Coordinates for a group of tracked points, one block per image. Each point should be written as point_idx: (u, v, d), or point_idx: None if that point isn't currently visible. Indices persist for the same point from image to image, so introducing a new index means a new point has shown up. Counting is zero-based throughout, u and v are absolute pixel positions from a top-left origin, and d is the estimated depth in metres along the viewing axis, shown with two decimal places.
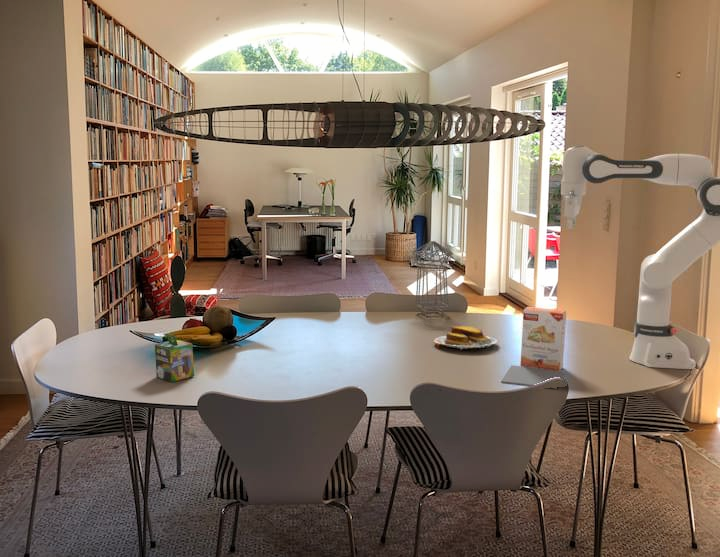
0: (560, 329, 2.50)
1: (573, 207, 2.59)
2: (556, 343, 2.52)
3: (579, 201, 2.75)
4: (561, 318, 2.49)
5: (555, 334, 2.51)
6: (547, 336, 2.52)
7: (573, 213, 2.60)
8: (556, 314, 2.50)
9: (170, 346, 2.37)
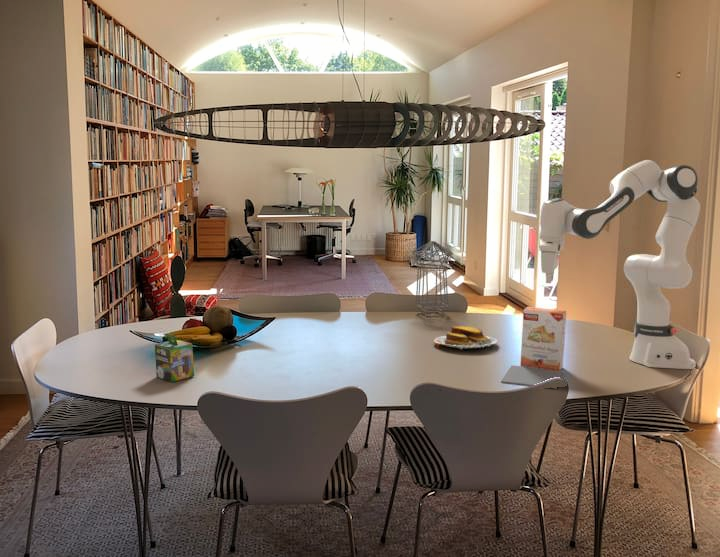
0: (560, 329, 2.50)
1: None
2: (556, 343, 2.52)
3: None
4: (561, 318, 2.49)
5: (555, 334, 2.51)
6: (547, 336, 2.52)
7: None
8: (556, 314, 2.50)
9: (170, 346, 2.37)
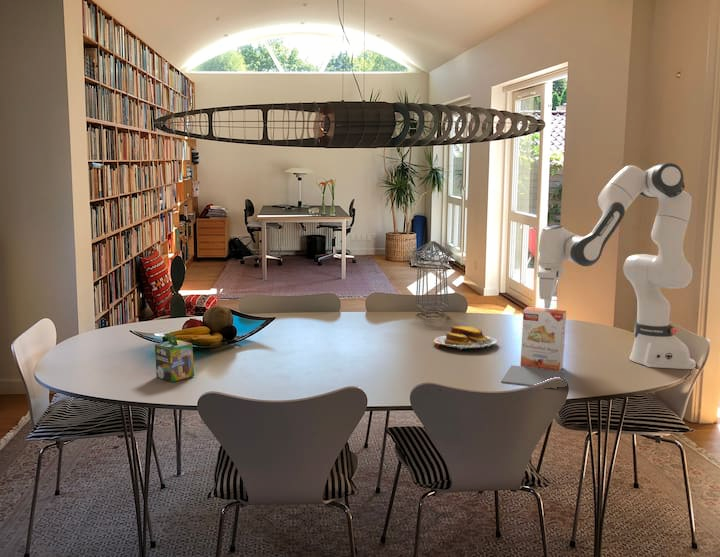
0: (560, 329, 2.50)
1: None
2: (556, 343, 2.52)
3: None
4: (561, 318, 2.49)
5: (555, 334, 2.51)
6: (547, 336, 2.52)
7: None
8: (556, 314, 2.50)
9: (170, 346, 2.37)
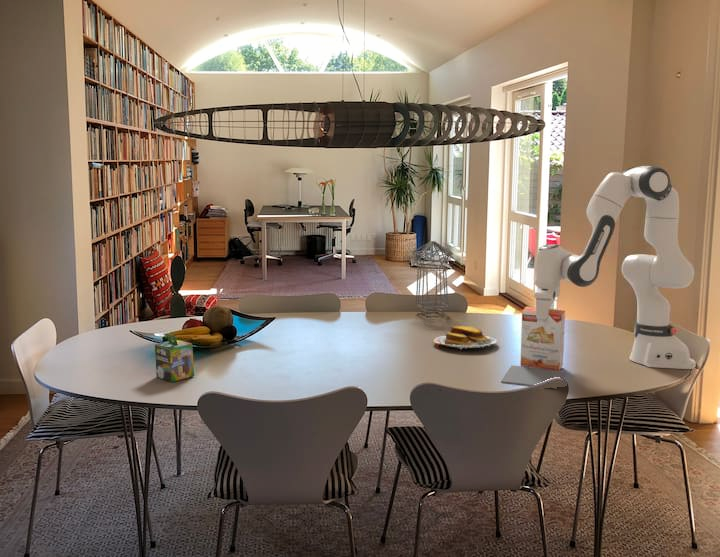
0: (559, 330, 2.49)
1: None
2: (555, 344, 2.51)
3: None
4: (560, 319, 2.48)
5: (554, 335, 2.50)
6: (547, 336, 2.51)
7: None
8: (555, 315, 2.49)
9: (170, 346, 2.37)
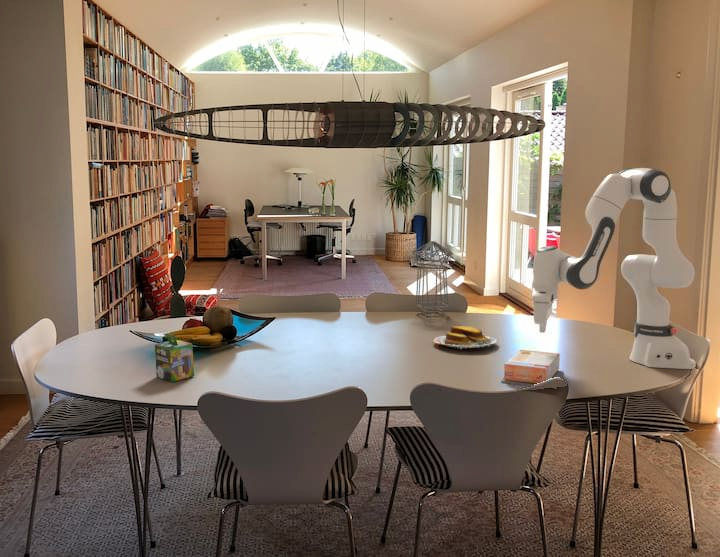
0: None
1: None
2: None
3: None
4: None
5: None
6: None
7: None
8: None
9: (170, 346, 2.37)
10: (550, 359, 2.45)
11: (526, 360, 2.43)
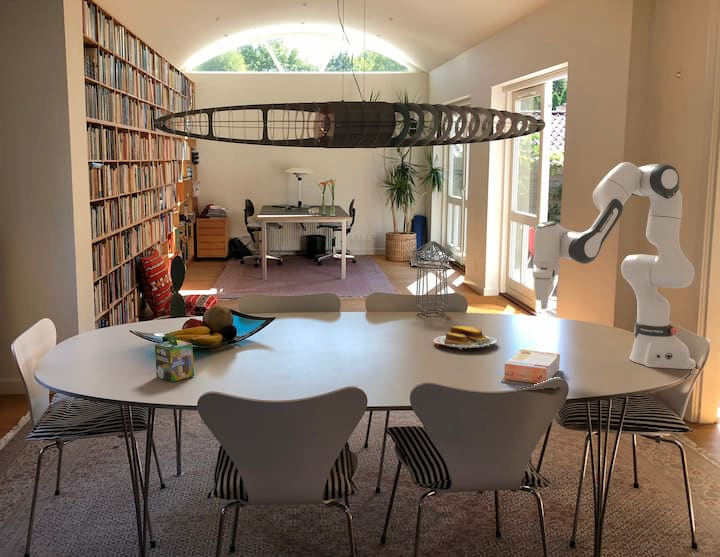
0: None
1: None
2: None
3: None
4: None
5: None
6: None
7: None
8: None
9: (170, 346, 2.37)
10: (550, 359, 2.45)
11: (526, 360, 2.43)
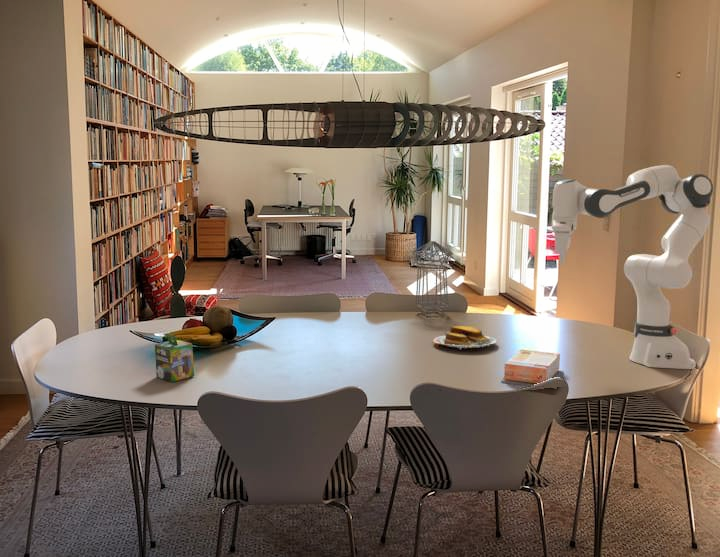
0: None
1: None
2: None
3: None
4: None
5: None
6: None
7: None
8: None
9: (170, 346, 2.37)
10: (550, 359, 2.45)
11: (526, 360, 2.43)
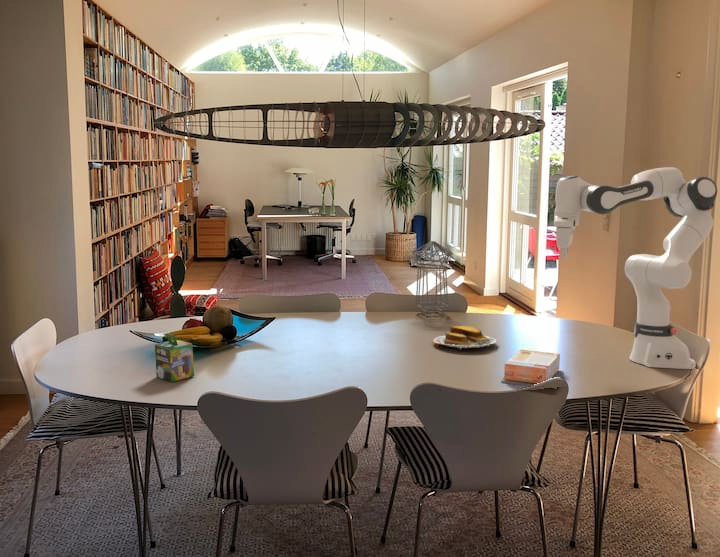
0: None
1: None
2: None
3: None
4: None
5: None
6: None
7: None
8: None
9: (170, 346, 2.37)
10: (550, 359, 2.45)
11: (526, 360, 2.43)
